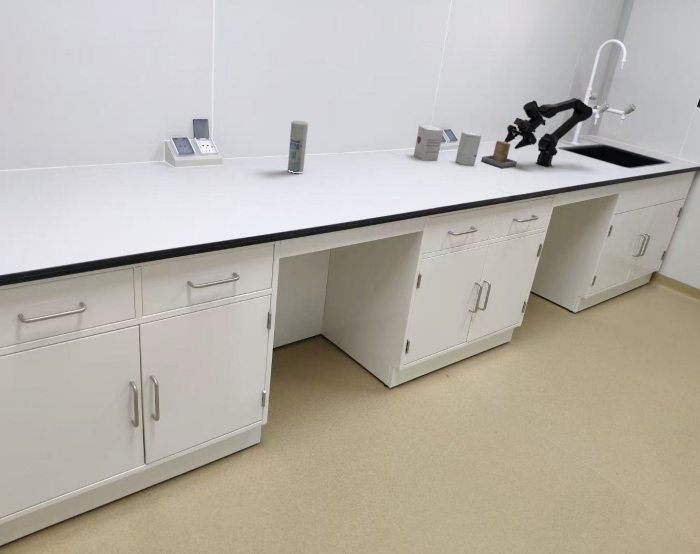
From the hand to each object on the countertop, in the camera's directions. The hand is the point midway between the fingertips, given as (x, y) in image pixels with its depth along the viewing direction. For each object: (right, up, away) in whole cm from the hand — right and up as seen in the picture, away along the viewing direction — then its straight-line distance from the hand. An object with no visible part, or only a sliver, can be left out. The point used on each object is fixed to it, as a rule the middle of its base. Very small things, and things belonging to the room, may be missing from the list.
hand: (509, 146), depth 294 cm
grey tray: (-5, -9, +2) cm, 10 cm away
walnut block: (-5, -8, +2) cm, 9 cm away
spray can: (-103, -24, -57) cm, 120 cm away
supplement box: (-43, -7, -6) cm, 44 cm away
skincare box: (-24, -10, -6) cm, 26 cm away
